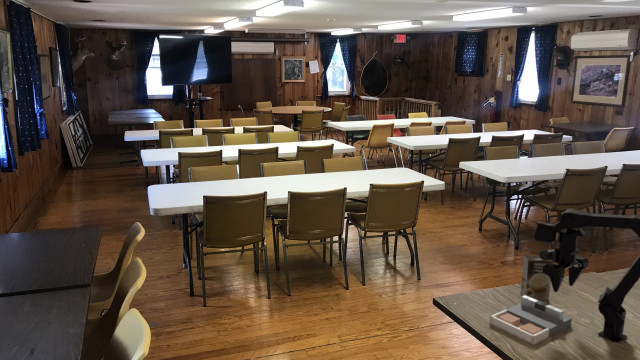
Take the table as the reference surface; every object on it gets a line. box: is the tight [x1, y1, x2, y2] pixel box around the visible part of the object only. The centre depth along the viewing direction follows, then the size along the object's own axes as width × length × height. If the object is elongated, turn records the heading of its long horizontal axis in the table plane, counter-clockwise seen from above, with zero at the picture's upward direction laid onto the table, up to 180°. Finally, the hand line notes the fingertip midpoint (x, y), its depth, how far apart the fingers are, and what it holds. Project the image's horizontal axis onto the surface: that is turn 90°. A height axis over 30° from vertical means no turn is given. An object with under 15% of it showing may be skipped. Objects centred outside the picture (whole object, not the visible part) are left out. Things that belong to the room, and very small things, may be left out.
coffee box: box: [520, 254, 554, 301], centre depth 196 cm, size 9×6×16 cm
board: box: [505, 303, 573, 338], centre depth 177 cm, size 13×17×3 cm
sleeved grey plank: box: [520, 295, 565, 322], centre depth 177 cm, size 2×15×4 cm, turn 34°
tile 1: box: [499, 313, 520, 326], centre depth 175 cm, size 5×5×2 cm
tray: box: [489, 309, 550, 346], centre depth 171 cm, size 8×17×3 cm, turn 33°
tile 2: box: [520, 323, 542, 335], centre depth 168 cm, size 5×5×2 cm
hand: (563, 288), depth 173 cm, fingers open, 9 cm apart
